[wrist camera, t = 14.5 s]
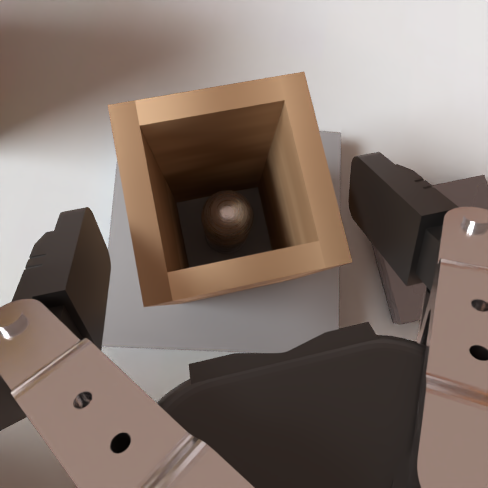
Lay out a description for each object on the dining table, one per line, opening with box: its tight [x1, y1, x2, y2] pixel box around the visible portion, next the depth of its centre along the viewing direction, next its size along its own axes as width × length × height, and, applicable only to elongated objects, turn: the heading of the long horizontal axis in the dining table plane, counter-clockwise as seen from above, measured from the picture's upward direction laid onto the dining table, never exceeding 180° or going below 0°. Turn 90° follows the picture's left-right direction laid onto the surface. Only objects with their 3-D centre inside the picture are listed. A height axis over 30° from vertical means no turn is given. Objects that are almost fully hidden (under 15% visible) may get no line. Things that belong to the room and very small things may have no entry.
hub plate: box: [102, 131, 341, 353], centre depth 18 cm, size 12×12×7 cm
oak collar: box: [108, 72, 352, 307], centre depth 16 cm, size 6×6×9 cm
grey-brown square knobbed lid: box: [372, 175, 488, 324], centre depth 20 cm, size 7×7×5 cm
